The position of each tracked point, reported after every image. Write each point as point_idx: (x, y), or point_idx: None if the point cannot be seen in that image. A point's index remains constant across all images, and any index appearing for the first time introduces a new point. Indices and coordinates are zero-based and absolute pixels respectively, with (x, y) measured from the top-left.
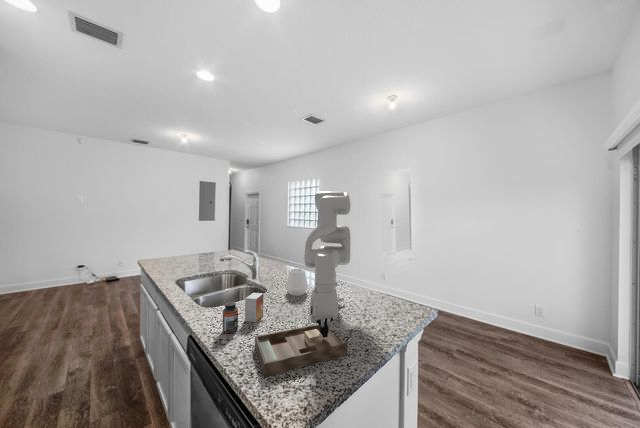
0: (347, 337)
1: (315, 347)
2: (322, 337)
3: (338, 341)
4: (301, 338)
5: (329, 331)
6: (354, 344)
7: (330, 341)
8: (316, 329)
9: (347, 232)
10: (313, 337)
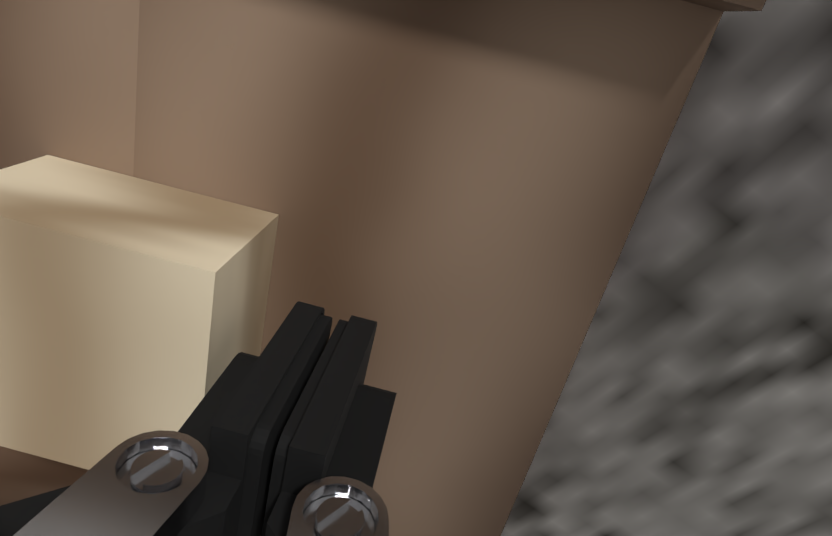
0: (818, 346)
1: None
2: (353, 293)
3: (482, 504)
4: (15, 92)
5: (609, 213)
6: (716, 501)
7: (386, 441)
8: (200, 286)
9: None
10: (29, 448)
